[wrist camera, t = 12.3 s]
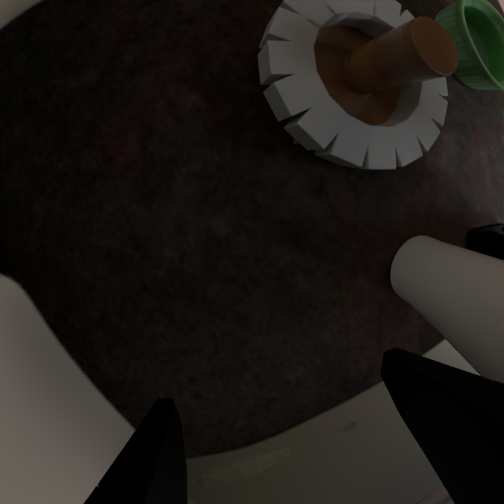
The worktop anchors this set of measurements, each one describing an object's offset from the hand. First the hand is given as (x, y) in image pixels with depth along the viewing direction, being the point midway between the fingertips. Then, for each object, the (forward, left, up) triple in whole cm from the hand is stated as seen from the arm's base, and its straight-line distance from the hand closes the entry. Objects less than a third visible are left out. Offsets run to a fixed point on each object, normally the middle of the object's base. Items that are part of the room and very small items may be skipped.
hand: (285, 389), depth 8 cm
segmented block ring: (-8, -11, -10) cm, 17 cm away
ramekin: (-22, -16, -12) cm, 30 cm away
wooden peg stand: (-9, -11, -12) cm, 19 cm away
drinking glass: (-14, +3, -12) cm, 19 cm away
